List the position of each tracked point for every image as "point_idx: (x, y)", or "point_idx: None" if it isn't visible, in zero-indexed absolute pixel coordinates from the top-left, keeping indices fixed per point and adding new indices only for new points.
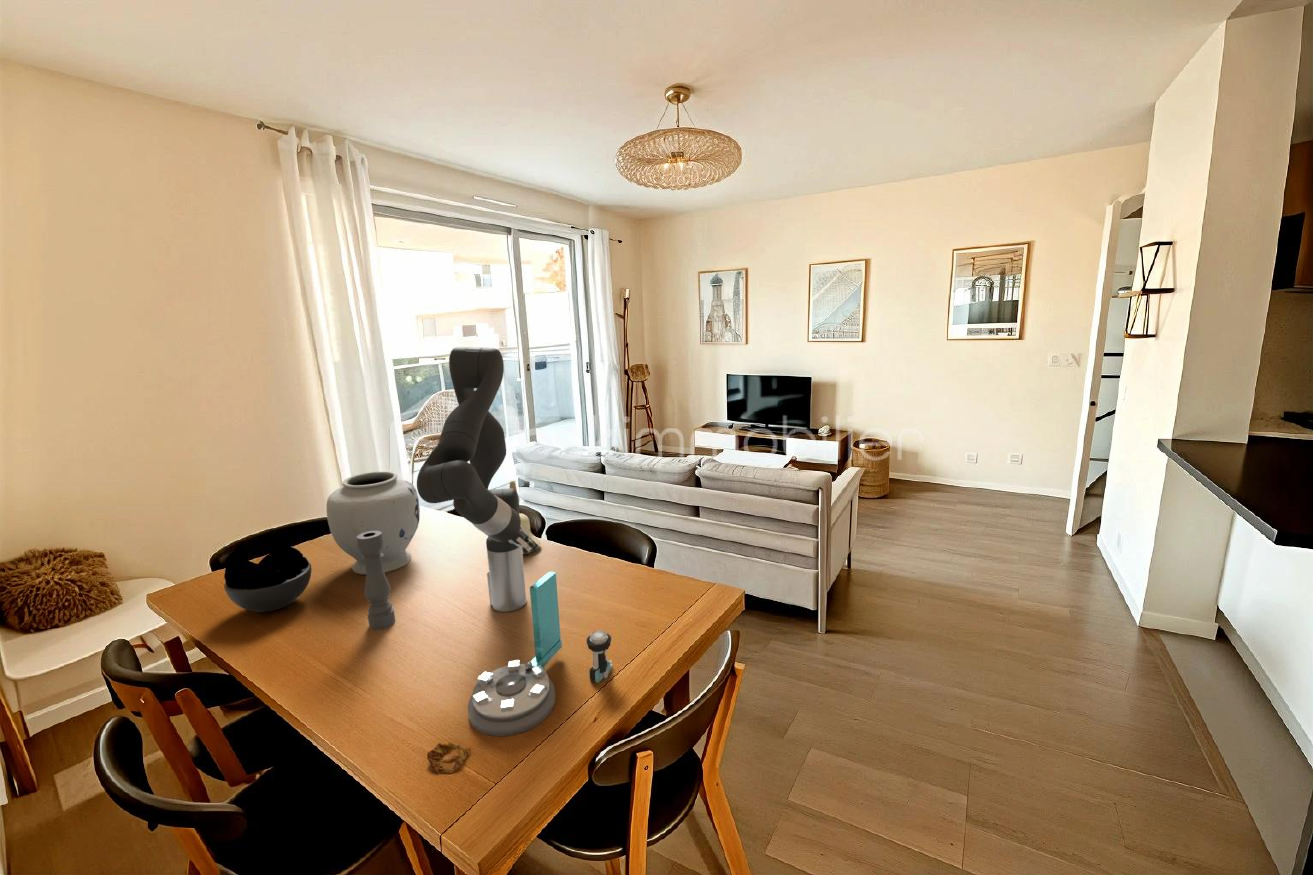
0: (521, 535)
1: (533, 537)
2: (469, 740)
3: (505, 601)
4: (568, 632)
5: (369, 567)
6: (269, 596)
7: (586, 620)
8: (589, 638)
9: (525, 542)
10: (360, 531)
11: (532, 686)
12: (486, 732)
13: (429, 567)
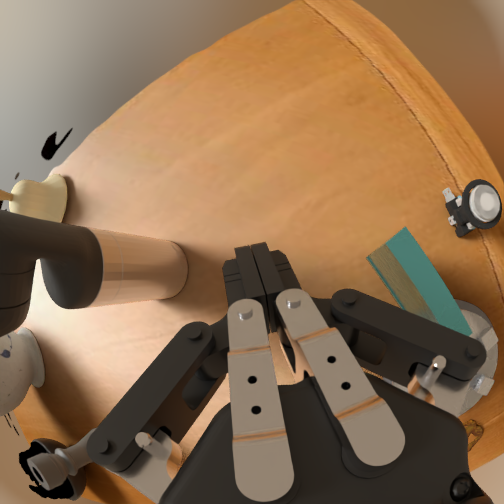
0: (467, 448)
1: (49, 181)
2: None
3: (173, 284)
4: (312, 211)
5: (80, 467)
6: (79, 483)
7: (292, 169)
8: (473, 217)
9: (463, 402)
10: (5, 401)
11: None
12: None
13: (46, 322)
